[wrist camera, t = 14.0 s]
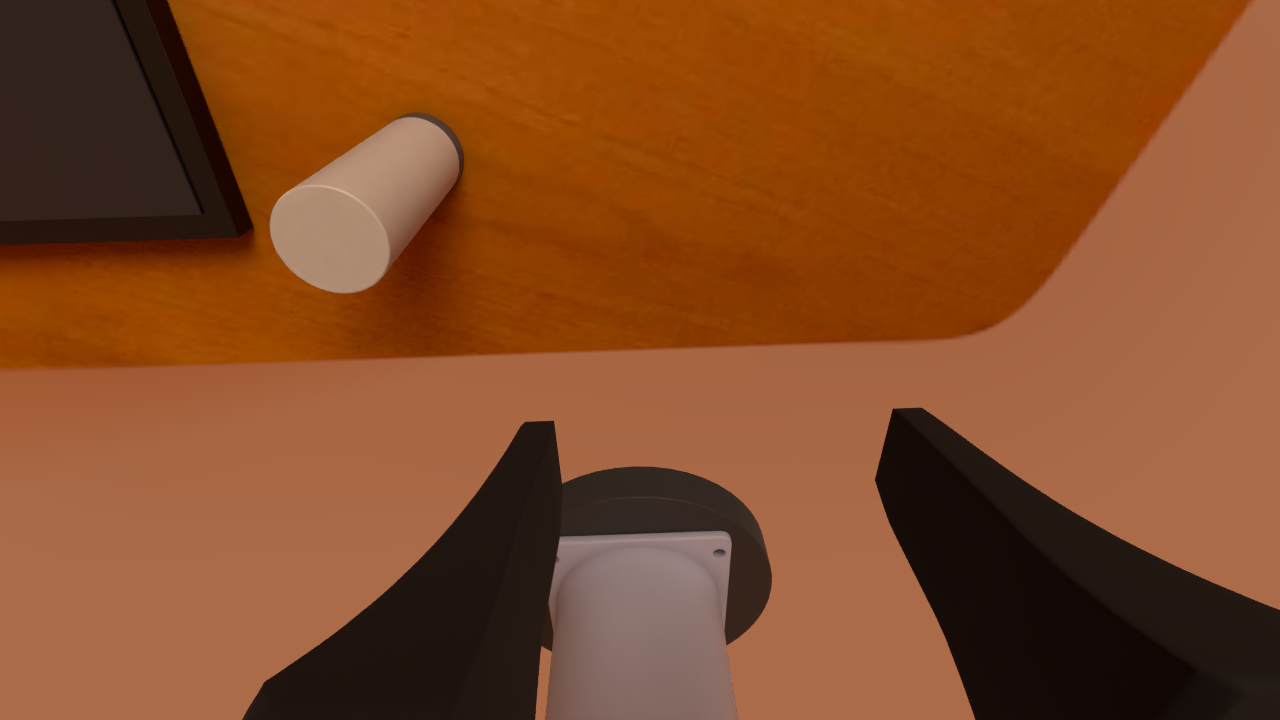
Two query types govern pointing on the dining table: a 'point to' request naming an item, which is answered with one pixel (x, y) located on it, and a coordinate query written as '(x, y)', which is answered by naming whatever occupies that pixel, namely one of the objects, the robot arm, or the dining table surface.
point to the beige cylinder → (366, 204)
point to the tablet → (106, 128)
